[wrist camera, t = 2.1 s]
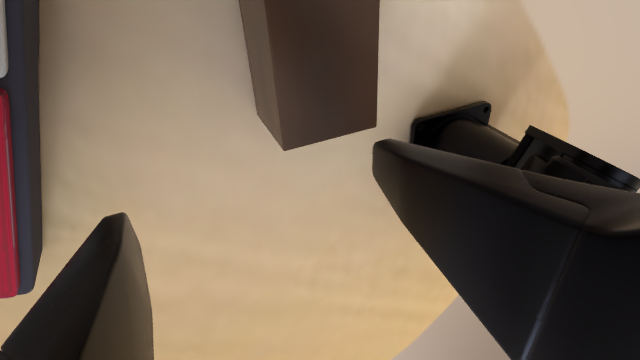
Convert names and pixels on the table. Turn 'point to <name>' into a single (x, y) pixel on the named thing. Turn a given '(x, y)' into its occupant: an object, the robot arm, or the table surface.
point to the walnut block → (313, 66)
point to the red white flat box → (19, 148)
